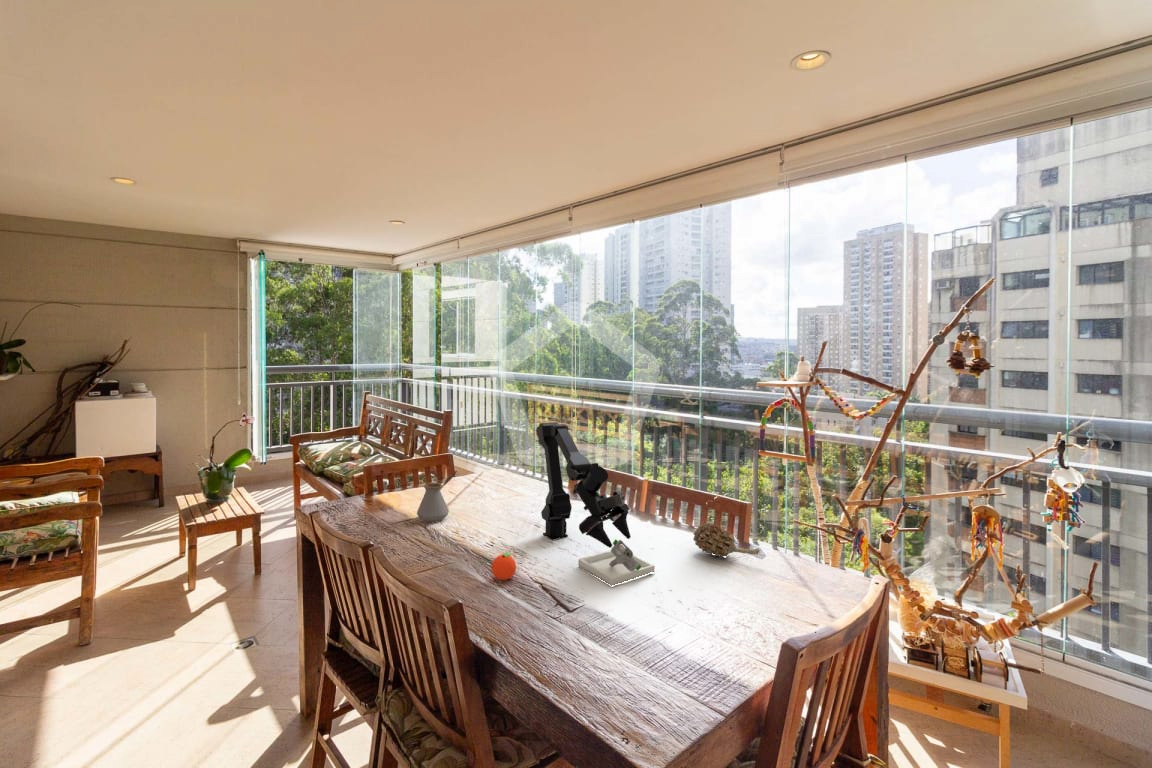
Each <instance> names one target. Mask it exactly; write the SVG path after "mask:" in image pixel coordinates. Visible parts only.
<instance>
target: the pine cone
mask: <svg viewBox="0 0 1152 768" xmlns="http://www.w3.org/2000/svg"><path fill="white" fill-rule="evenodd" d="M693 535H694V536H693V541H694V543H695V544H694V545H695V546H697V547H698V549H700V550H702V552H703V551H705V552H704V553H705V554H707V553H710V554H711V553H713V554H715V555H714V556H715V557H716V556H719V555H721V556H719V557H722V556H727V555H728V556H729V554H732V553H740V554H746V555H747V554H748V555H757V556H758V555H759V554H760V552H761V550H760V548H759V547H757V548H755V549H745V548H739V547H737V546H736V544H735V536H734V535H733V534H732V533H730V531H729V530H725V528H724V527H721V526H720V525H719V524H715V523H710V522H708V523H705V522H704V523H702V524H699V525H698V527H696V530H695V531H693ZM728 556H727V557H728Z"/></svg>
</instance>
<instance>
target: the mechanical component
mask: <svg viewBox="0 0 1152 768" xmlns="http://www.w3.org/2000/svg"><path fill="white" fill-rule="evenodd" d="M611 543H612V547H611V548H610V550H611V552H612V553H613V554H614V555H615V556H616V559H614V560H613V561H611V563H610V564H609V565H610V566H611V567H613V566H615V565H617V564H623V565H624V566H625V567H626V568H627V569H628V570H629V571H633V570H635V569H637V570H639V569H640V568H641V565H640V562H639V561H638V562H636V561H635V560H634V558H633V555H634V552H633V550H631V549H630V547H628V546H627V545H626V543H624V541H623V540H621V539H619V540H617V539H615V540H614V541H613V542H611Z"/></svg>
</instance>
